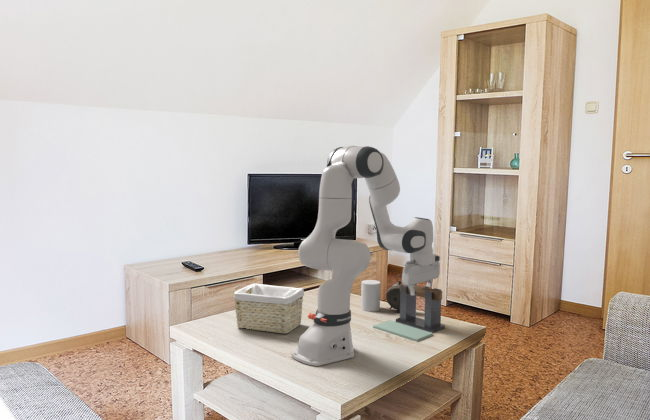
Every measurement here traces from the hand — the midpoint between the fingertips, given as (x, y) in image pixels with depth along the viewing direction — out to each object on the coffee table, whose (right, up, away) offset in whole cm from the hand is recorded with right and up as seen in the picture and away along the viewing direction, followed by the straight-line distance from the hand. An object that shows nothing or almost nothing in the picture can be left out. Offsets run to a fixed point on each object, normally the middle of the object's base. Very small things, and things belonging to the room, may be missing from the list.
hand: (420, 292), depth 210 cm
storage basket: (-60, -13, 0) cm, 61 cm away
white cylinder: (-18, -11, +23) cm, 31 cm away
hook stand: (0, -13, +1) cm, 13 cm away
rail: (0, -1, 0) cm, 1 cm away
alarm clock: (-6, -11, +19) cm, 23 cm away
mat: (-8, -14, -6) cm, 17 cm away
